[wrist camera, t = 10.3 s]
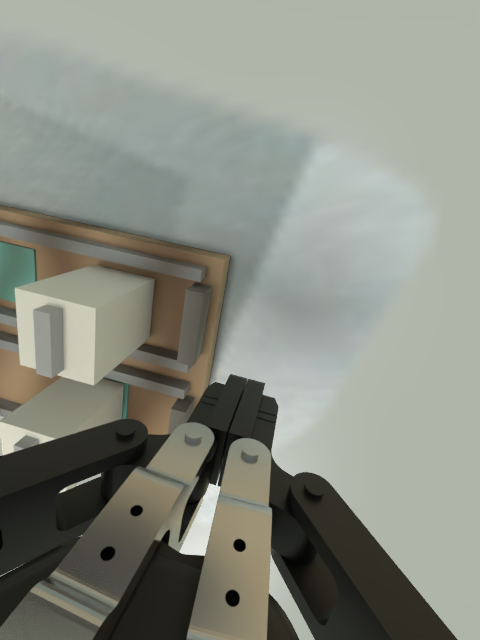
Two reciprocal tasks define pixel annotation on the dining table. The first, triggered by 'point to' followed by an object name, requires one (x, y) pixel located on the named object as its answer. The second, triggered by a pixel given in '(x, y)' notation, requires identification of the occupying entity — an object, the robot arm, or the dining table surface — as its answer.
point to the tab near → (83, 322)
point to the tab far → (61, 413)
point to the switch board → (166, 320)
